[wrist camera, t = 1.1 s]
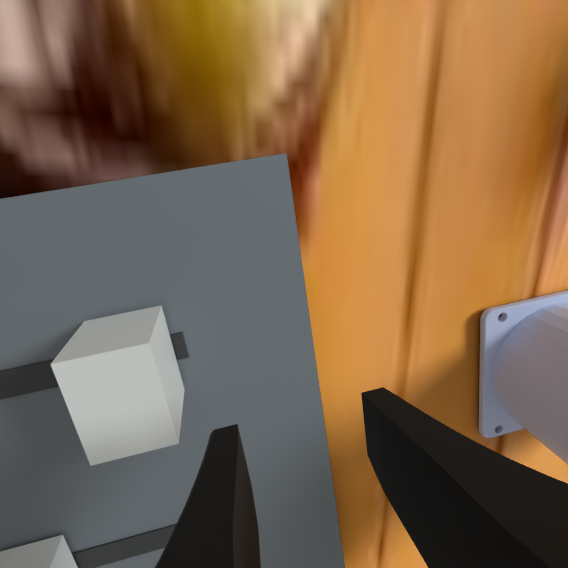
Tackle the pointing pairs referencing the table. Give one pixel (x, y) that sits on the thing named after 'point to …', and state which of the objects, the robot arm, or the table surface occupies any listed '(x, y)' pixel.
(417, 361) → the table surface
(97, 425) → the block
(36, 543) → the rear tab
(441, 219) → the table surface
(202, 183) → the switch board
